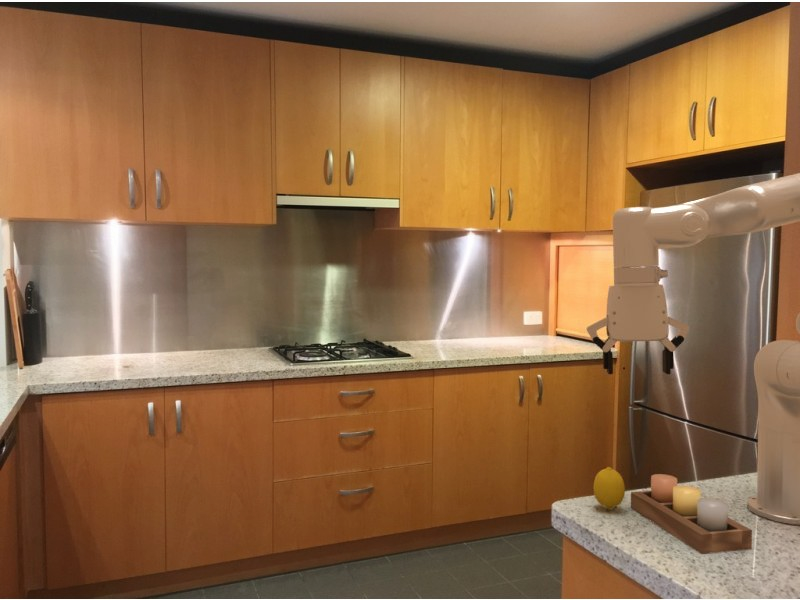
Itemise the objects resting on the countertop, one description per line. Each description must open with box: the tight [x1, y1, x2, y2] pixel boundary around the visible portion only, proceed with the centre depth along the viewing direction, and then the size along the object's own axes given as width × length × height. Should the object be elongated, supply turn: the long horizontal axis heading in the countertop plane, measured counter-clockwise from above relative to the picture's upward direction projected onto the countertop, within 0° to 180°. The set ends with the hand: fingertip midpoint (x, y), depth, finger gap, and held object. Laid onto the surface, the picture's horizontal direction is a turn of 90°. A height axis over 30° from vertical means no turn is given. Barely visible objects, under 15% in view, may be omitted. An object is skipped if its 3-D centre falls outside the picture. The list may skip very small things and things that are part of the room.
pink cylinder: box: [650, 473, 678, 503], centre depth 116 cm, size 4×4×4 cm
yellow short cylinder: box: [673, 484, 702, 517], centre depth 110 cm, size 4×4×4 cm
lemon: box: [592, 466, 626, 511], centre depth 118 cm, size 6×6×8 cm
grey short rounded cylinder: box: [697, 497, 729, 532], centre depth 103 cm, size 4×4×4 cm
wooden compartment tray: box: [630, 490, 753, 555], centre depth 110 cm, size 9×20×3 cm, turn 11°
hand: (637, 373), depth 114 cm, fingers open, 9 cm apart
